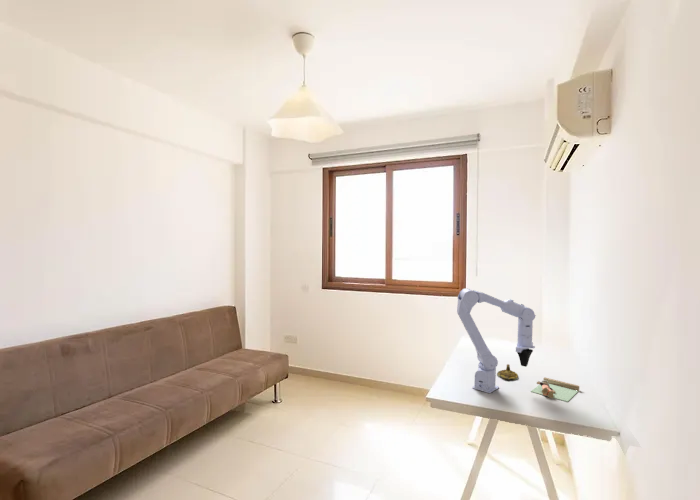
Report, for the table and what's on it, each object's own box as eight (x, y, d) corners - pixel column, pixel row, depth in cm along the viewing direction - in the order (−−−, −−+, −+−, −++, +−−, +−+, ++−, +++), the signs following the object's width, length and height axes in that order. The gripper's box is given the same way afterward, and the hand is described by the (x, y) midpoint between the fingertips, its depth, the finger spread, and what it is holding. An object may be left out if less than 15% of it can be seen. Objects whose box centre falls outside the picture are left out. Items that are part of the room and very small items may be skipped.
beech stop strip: (578, 391, 159) (578, 386, 159) (543, 382, 169) (543, 378, 169) (579, 390, 160) (579, 385, 160) (544, 381, 170) (544, 377, 170)
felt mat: (567, 402, 147) (567, 401, 147) (530, 391, 157) (530, 391, 157) (578, 391, 159) (578, 390, 159) (543, 382, 169) (543, 382, 169)
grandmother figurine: (551, 402, 151) (549, 392, 162) (558, 395, 150) (555, 386, 162) (535, 388, 154) (533, 380, 165) (541, 382, 153) (539, 374, 164)
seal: (518, 385, 168) (517, 374, 182) (520, 375, 168) (518, 365, 182) (496, 379, 172) (497, 370, 185) (498, 370, 171) (498, 360, 185)
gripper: (528, 339, 151) (527, 371, 151) (540, 333, 162) (539, 364, 162) (511, 335, 156) (510, 367, 156) (523, 330, 167) (523, 360, 167)
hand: (524, 365), depth 159 cm, fingers closed
